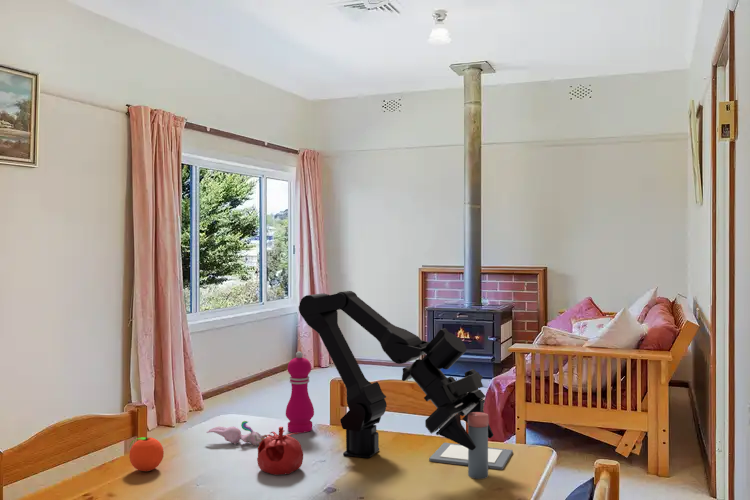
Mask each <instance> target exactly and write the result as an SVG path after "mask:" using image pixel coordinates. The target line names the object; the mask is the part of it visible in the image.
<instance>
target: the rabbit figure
mask: <svg viewBox="0 0 750 500" xmlns="http://www.w3.org/2000/svg"><path fill="white" fill-rule="evenodd" d="M248 423H249V421H247V420H244V421H242V422H241V424H240V425H241V429H242V430H244V431H247V432H249V433H247V434H242V432H241V429H240V428H238V427H236V426H228V427H225V426H214V427H213V428H211V429H209V430H208V431H206V433H207V434H210V433H214V434H217V435H220V436H221V437H223V438H224V440H225V441H226V442H230V443H232V444H234V445H237V444H238V443H240V441H242V442H244V443H246V444H247V443H250V444H251V445H253V446H256V447H257V446H259V444H260V443H261V441H262V440H263V439H264V438H266V437H268V436H265V435H266V434H263V435H261V434H260V433H259V432H258V431H257V432H256V431H254V430H253V428H252V427H251V426H249V425H247V424H248ZM262 436H263V437H262Z"/></svg>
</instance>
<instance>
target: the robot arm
mask: <svg viewBox="0 0 750 500" xmlns="http://www.w3.org/2000/svg"><path fill="white" fill-rule="evenodd" d="M339 310H341V312H343V313H344V314H346V315H347V316H348V317H350V319H352V320H353V321H354V322H355V323H357V324H358V325H359V326H361V327H362V328H363V329H364V330H365V331H366V332H368V333H369V334H370V335H371V336H373V337H374V338H375V339H376V340H377V341H378V343H379V344H380V347H381V349H382V351H383V352H384V353H385V354H386V355H387V357H388V358H389V359H390V360H391V361H392V362H393V363H395V364H397V365H401V364H402V365H403V364H407V363H410V362H412V361H413V363H412V364H411V365H410V366H406V367H403V368H402V374H401V381H402V382H405V381H408V380H411V379H412V380H413V381H414V382H415V383H416V384H417V386H418V387H419V388H420V389H421V391H422V392H423V393H424V394H425V396H424V397H423V399H424V400H425V401H426V402H429V401H431V402H432V404H433V405H434V407H435V408H436V409H435V410H434V411H433V412H432V413H431V414H430V415H429V416H428V417H427V418H426V419H425V428H426V430H428V432H429V433H430V434H431V435H432V434H434V433H435V435H436V436H440V437H443V438H445V439H447V440H450V441H452V442H455V444H460V445H462V446H464V447H466V448H468V449H470V450H474V449H475V448H476V446H475V444H474V442H473V441H472V439H471V438H470V436H469V435H468V432H467V430H466V429H465V427H464V425H463V424H462V422H461V421H462V420H463V421H464V422H466V423H467V424H468V413H471V412H482V413H485V412H484V405H485V402H486V399H485V398H486V397H487V396H486V395H485V394H484V392H483V391H482V390H481V388H483V387H484V384H483V383H482V380H483V374H480V372H478V371H476V370H475V369H474V368H472V369H470V370H466V371H464V377H462V378H460V379H457V380H456V379H455V377H453V376H449V377H447V376H446V375H445V373H444V372H443V371H442V369H443V370H449V369H450V368H451V367H452V366H453V365H454V364H455V363H456V362H457V361H458V360H459V359H460V358H461V357H462V356H463V355H464V354H465V353H466V352H467V346H466V343H465V342H464V341H463V340H462V339H461V337H458V336H457V335H456V334H454V333H452V332H449V331H448V329H447V328H440V330H439V331H437V332H436V335H435V336H434V337H433V338H432V339H431V340H430V341H427V340H422V339H421V338H420V337H419V336H418V335H417V334H415V333H413V332H411V331H409V330H407V329H406V328H405V329H404V328H401V327H399V326H396V325H394V324H392V323H391V322H390V321H388V320H387V318H385V317H384V316H382V315H381V314H380V313H379V312H377V310H375V309H374V308H372V307H371V305H369V304H368V303H366V302H365V301H363V299H361V298H360V297H358V294H356V292H354V291H352V290H346V291H345V290H343V291H338V292H337V293H333V294H328V293H325V292H324V293H315V294H307V295H305V296H303V297H302V298H301V299H300V301H299V306H298V311H299V312H298V313H299V314H300V316H301V318H302V319H303V321H304V322H305V323H306V325H308V326H309V327H310V328H311V329H312V330H313V331H315V332H316V333H317V334H318V335H319V337H320V338H321V340H322V342H323V345H324V347H325V348H326V352H327V353H328V354H329V357H330V359H331V360H332V363H333V365H334V366H335V369H336V371H337V372H338V374H339V376H340V378H341V381H342V383H343V384H344V386H345V388H346V405H347V407H348V411H347V412H346V413H345V414H344V415H343V416H342V417H341V418H340V424H341V428H342V429H343V430H345V446H346V447H345V451H343V453H342V455H343V456H349V457H357V458H364V459H365V458H366V459H370V458H371V457H373V456H374V455H375V454H376V453H378V452H380V445H379V442H380V441H379V432H378V431H377V424H379V423H380V422H381V419H382V416H384V414H385V412H386V410H387V404H388V403H387V400H386V398H387V396H386V395H385V394H384V392H383V391H382V389H381V388H382V387H381V385H380V384H379V382H378V381H374V382H370V381H369V380H368V379H367V378H366V377H365V375H364V373H363V371H362V369H361V367H360V365H359V363H358V361H357V360H356V357H355V355H354V354H353V351H352V350H351V348H350V346H349V344H348V342H347V340H346V338H345V336H344V334H343V332H342V330H341V328H340V326H339V323H338V321H339V320H338V312H339ZM423 355H425V356H424V357H423V358H422V359H420V357H421V356H423ZM414 360H415V361H414ZM461 417H462V418H461ZM493 437H494V432H493V431H492V428H491V425H490V423H489V422H488V439H491V438H493Z"/></svg>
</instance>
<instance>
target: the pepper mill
mask: <svg viewBox="0 0 750 500" xmlns="http://www.w3.org/2000/svg"><path fill="white" fill-rule="evenodd" d="M303 355H304V354H303V351H302V352H301V351H297V352H296V353H295V357H294V358H291V360H289V362H288V364H287V373H288V374H289V375H290V377H289V384H291V393H290V397H289V401H288V402H287V405H286V408H285V417H286V418H287V419H288V422H287V431H288V432H289V433H298V434H300V433H301V434H303V433H308V432H310V431H312V430H313V421H311V419H312V418H314V415H315V409H314V405H313V403H312V400H311V398H310V395H309V390H308V387H309V386H308V383H310V376H309V374H310V373H311V371H312V365H311V362H310V360H308V359H307V358H305V357H303Z"/></svg>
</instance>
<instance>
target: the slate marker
mask: <svg viewBox="0 0 750 500" xmlns="http://www.w3.org/2000/svg"><path fill="white" fill-rule="evenodd" d="M488 423H489V414H488V413H486V412H484V413H482V412H471V413H468V423H467V426H468V427H467V431H468V432H467V433H468V435H469V436H470V438H471V439H472V441H473V442H474V444H475V446H476V448H475V449H474V450H470V449H468V466H467V468H468V470H467V471H468V472H467V473H468V474H467V475H468V477H469V478H471V479H477V480H483V479H484V480H485V479H487V478H488V477H489V468H488V447H489V438H488Z"/></svg>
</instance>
